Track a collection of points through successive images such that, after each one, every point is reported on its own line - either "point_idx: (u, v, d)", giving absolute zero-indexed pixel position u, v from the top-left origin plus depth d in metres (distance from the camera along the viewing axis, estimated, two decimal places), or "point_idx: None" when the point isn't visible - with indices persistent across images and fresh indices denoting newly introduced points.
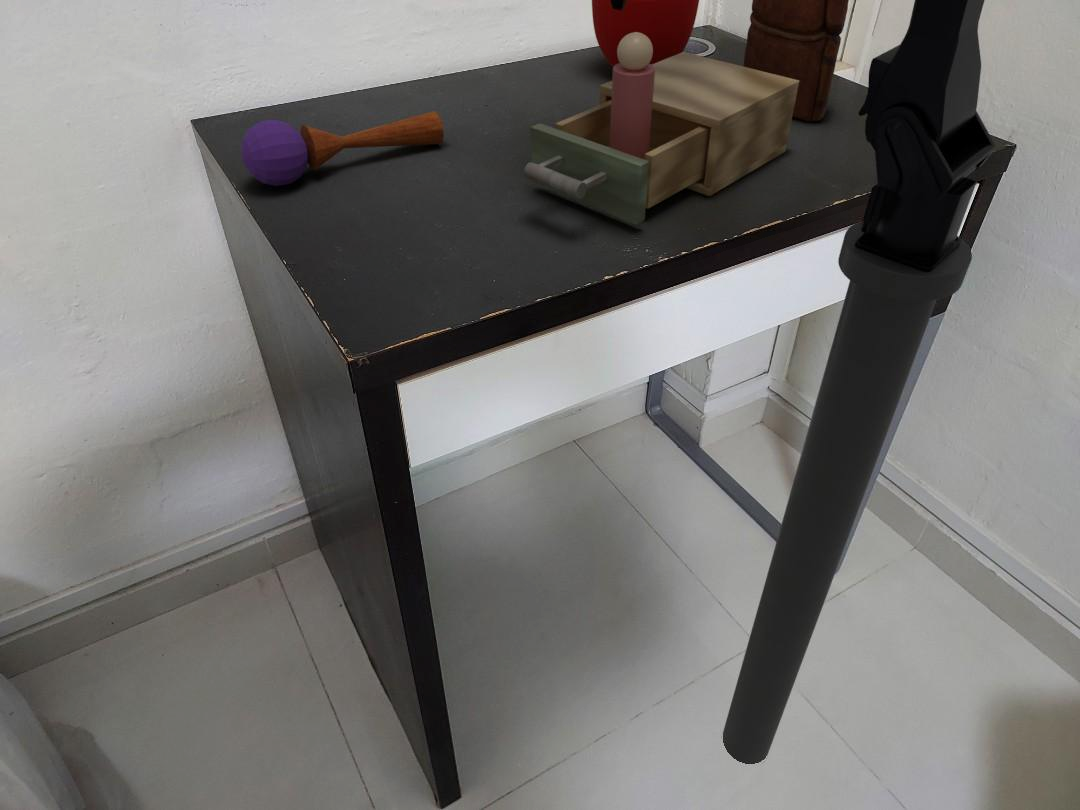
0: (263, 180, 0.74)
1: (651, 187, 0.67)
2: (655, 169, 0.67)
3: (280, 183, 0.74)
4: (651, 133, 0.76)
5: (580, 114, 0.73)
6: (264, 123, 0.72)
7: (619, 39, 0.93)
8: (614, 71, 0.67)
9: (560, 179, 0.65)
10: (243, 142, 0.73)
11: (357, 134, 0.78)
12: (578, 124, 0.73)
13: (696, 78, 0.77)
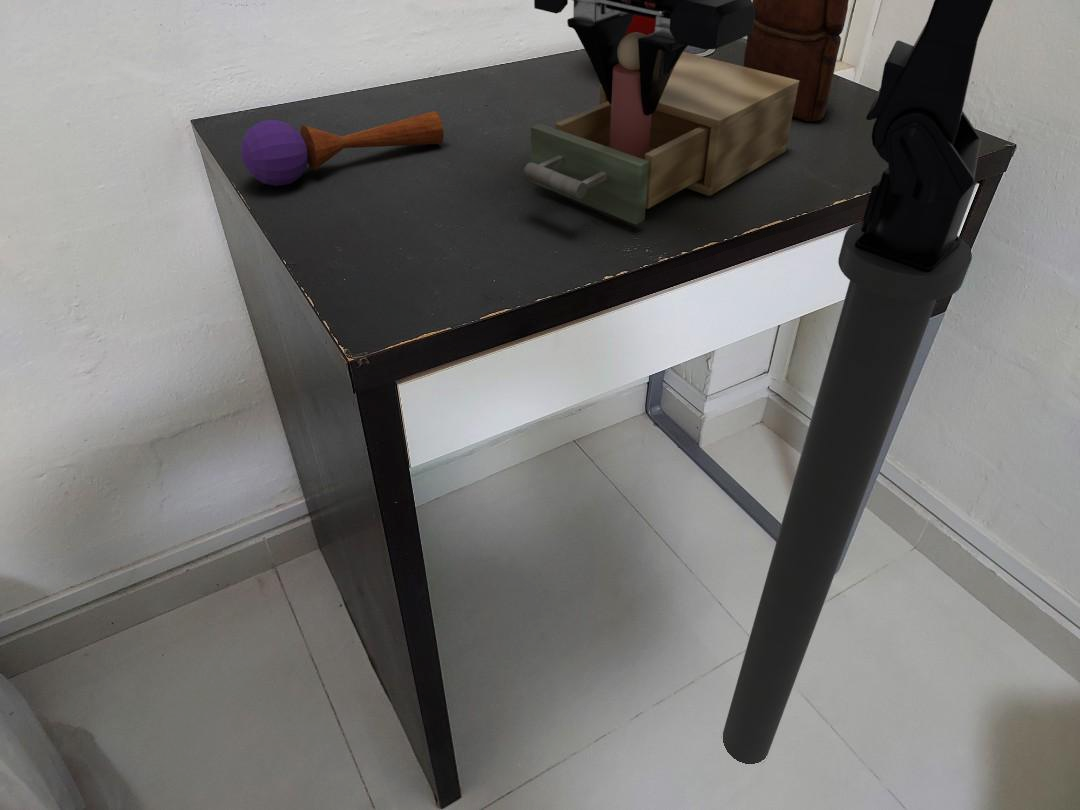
0: (263, 180, 0.74)
1: (651, 187, 0.67)
2: (655, 169, 0.67)
3: (280, 183, 0.74)
4: (651, 133, 0.76)
5: (580, 114, 0.73)
6: (264, 123, 0.72)
7: None
8: (614, 71, 0.67)
9: (560, 179, 0.65)
10: (243, 142, 0.73)
11: (357, 134, 0.78)
12: (578, 124, 0.73)
13: (696, 78, 0.77)
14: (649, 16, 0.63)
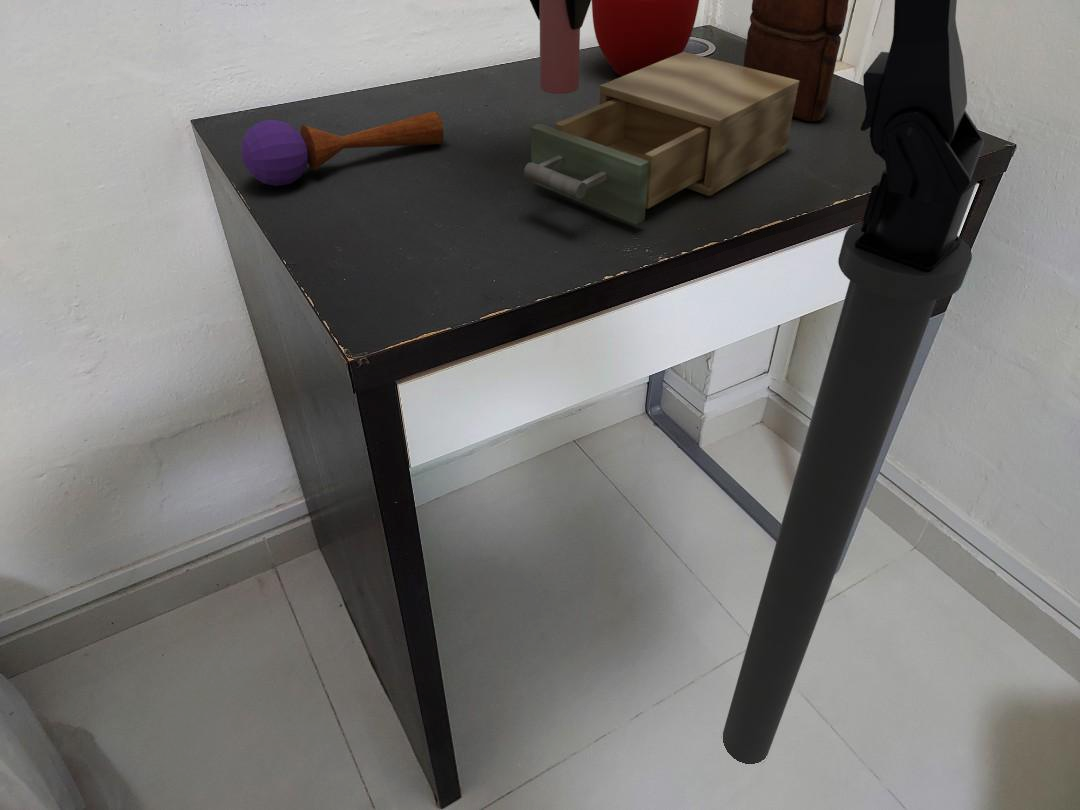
0: (263, 180, 0.74)
1: (651, 187, 0.67)
2: (655, 169, 0.67)
3: (280, 183, 0.74)
4: (651, 133, 0.76)
5: (580, 114, 0.73)
6: (264, 123, 0.72)
7: (619, 39, 0.93)
8: None
9: (560, 179, 0.65)
10: (243, 142, 0.73)
11: (357, 134, 0.78)
12: (578, 124, 0.73)
13: (696, 78, 0.77)
14: None
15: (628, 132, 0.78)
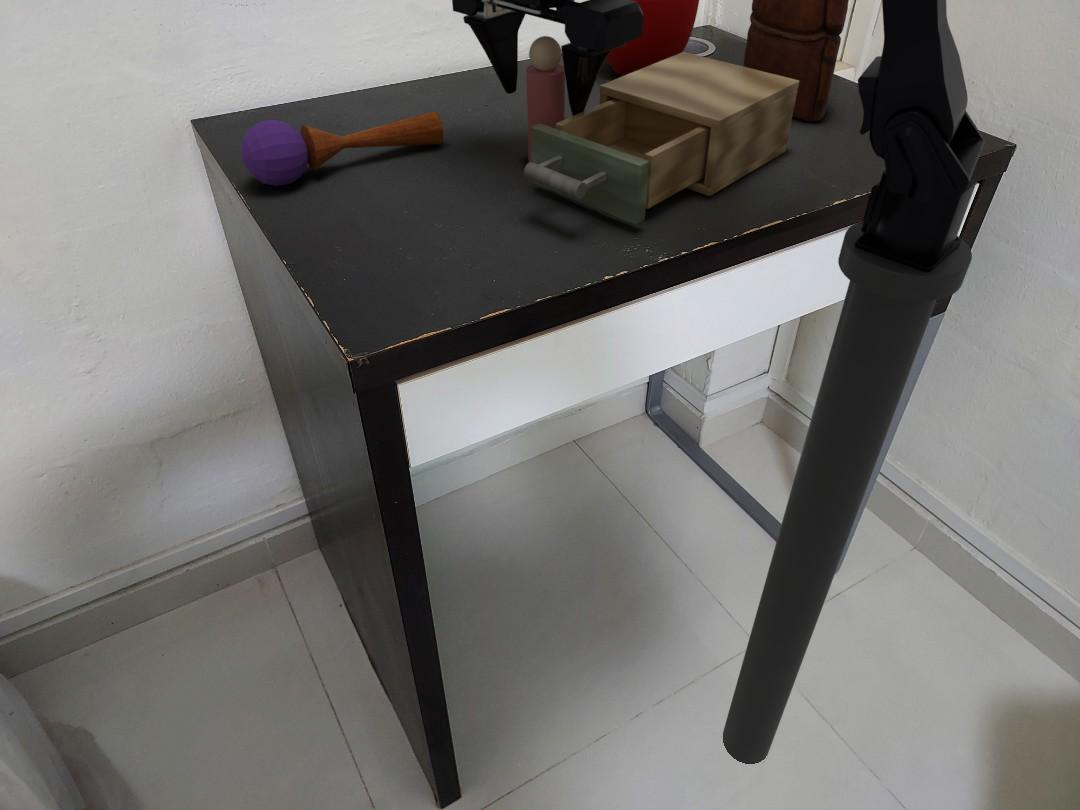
0: (263, 180, 0.74)
1: (651, 187, 0.67)
2: (655, 169, 0.67)
3: (280, 183, 0.74)
4: (651, 133, 0.76)
5: (580, 114, 0.73)
6: (264, 123, 0.72)
7: None
8: (527, 72, 0.73)
9: (560, 179, 0.65)
10: (243, 142, 0.73)
11: (357, 134, 0.78)
12: (578, 124, 0.73)
13: (696, 78, 0.77)
14: (552, 19, 0.70)
15: (628, 132, 0.78)
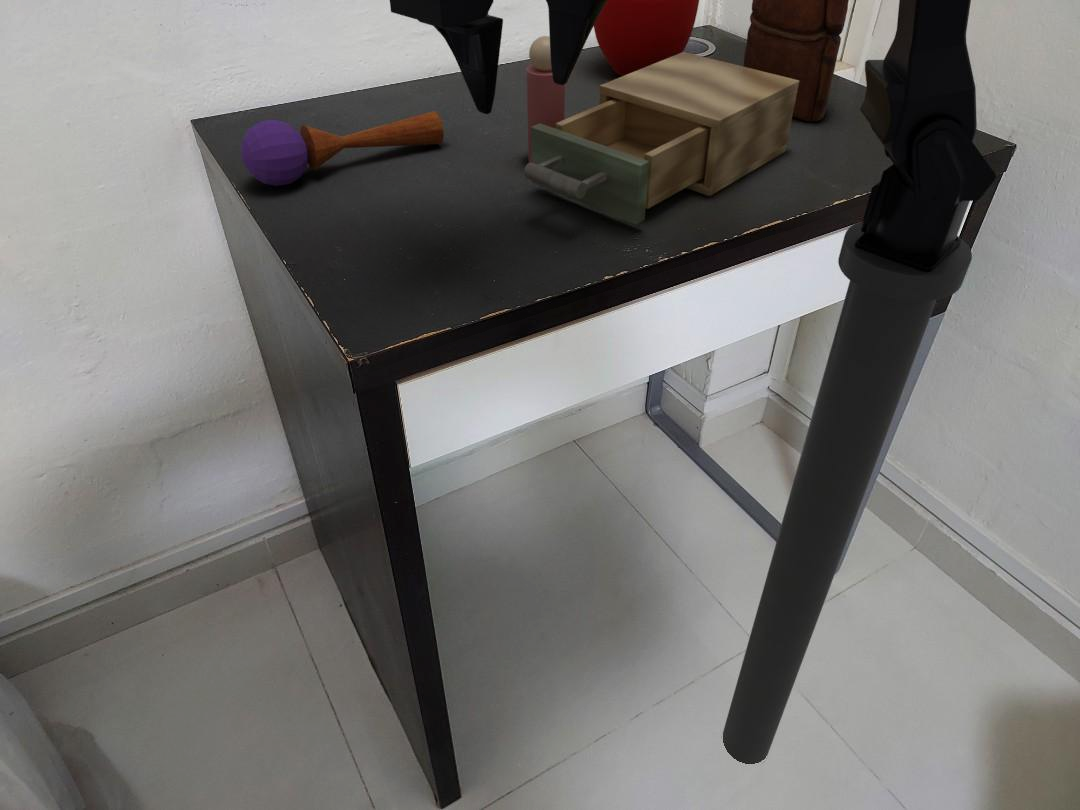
0: (263, 180, 0.74)
1: (651, 187, 0.67)
2: (655, 169, 0.67)
3: (280, 183, 0.74)
4: (651, 133, 0.76)
5: (580, 114, 0.73)
6: (264, 123, 0.72)
7: (619, 39, 0.93)
8: (527, 72, 0.73)
9: (560, 179, 0.65)
10: (243, 142, 0.73)
11: (357, 134, 0.78)
12: (578, 124, 0.73)
13: (696, 78, 0.77)
14: None
15: (628, 132, 0.78)
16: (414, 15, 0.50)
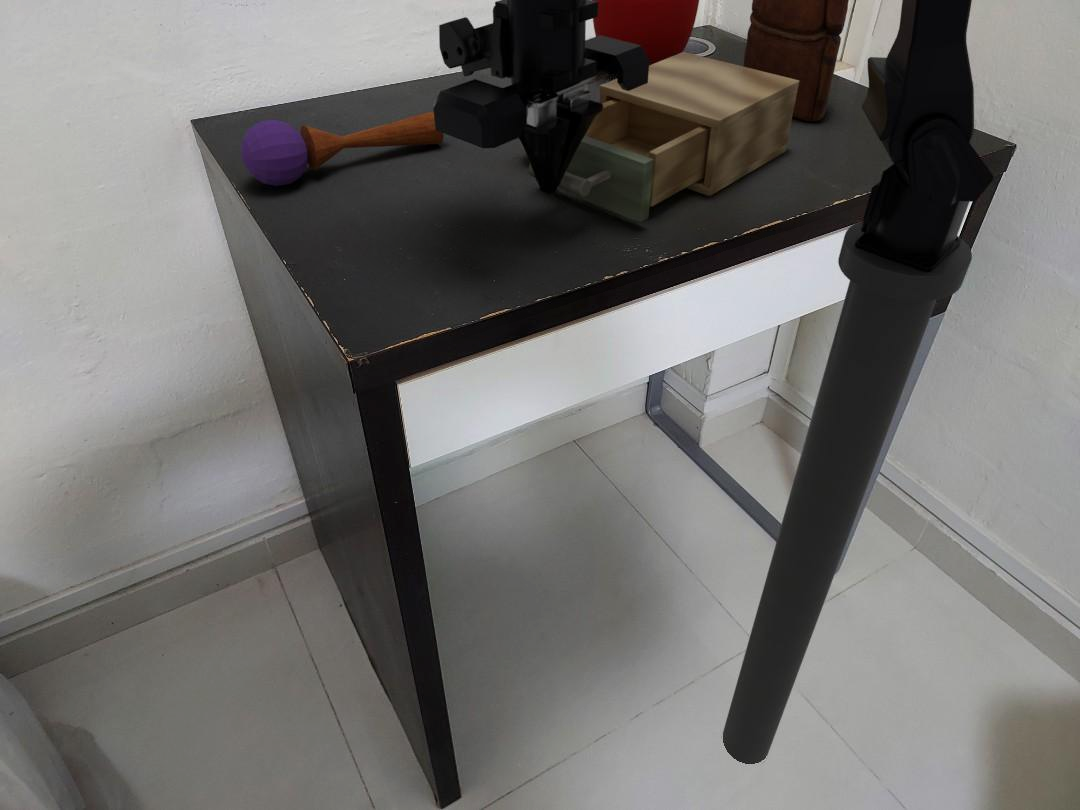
0: (263, 180, 0.74)
1: (655, 185, 0.68)
2: (659, 167, 0.67)
3: (280, 183, 0.74)
4: (655, 132, 0.76)
5: None
6: (264, 123, 0.72)
7: (619, 39, 0.93)
8: None
9: (564, 177, 0.65)
10: (243, 142, 0.73)
11: (357, 134, 0.78)
12: None
13: (696, 78, 0.77)
14: None
15: (631, 130, 0.78)
16: (457, 135, 0.56)
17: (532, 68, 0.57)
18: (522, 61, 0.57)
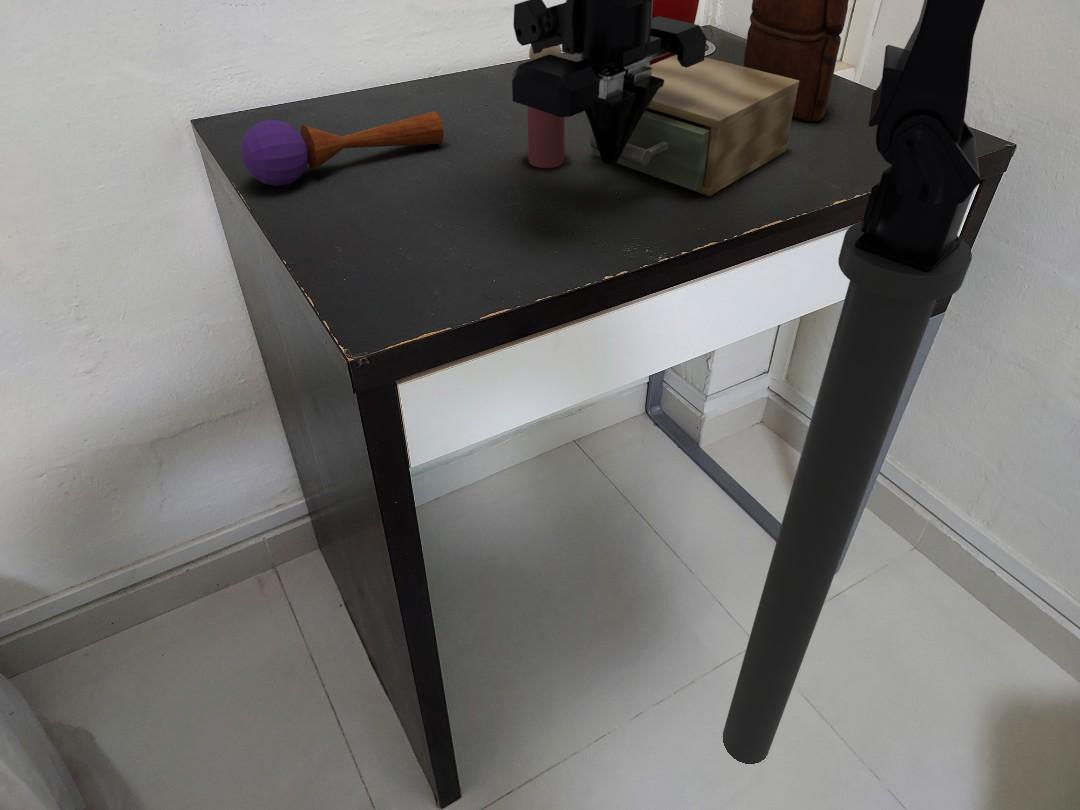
0: (263, 180, 0.74)
1: None
2: None
3: (280, 183, 0.74)
4: None
5: None
6: (264, 123, 0.72)
7: None
8: None
9: (625, 148, 0.70)
10: (243, 142, 0.73)
11: (357, 134, 0.78)
12: None
13: (696, 78, 0.77)
14: None
15: None
16: (534, 106, 0.61)
17: (603, 44, 0.62)
18: (593, 37, 0.62)
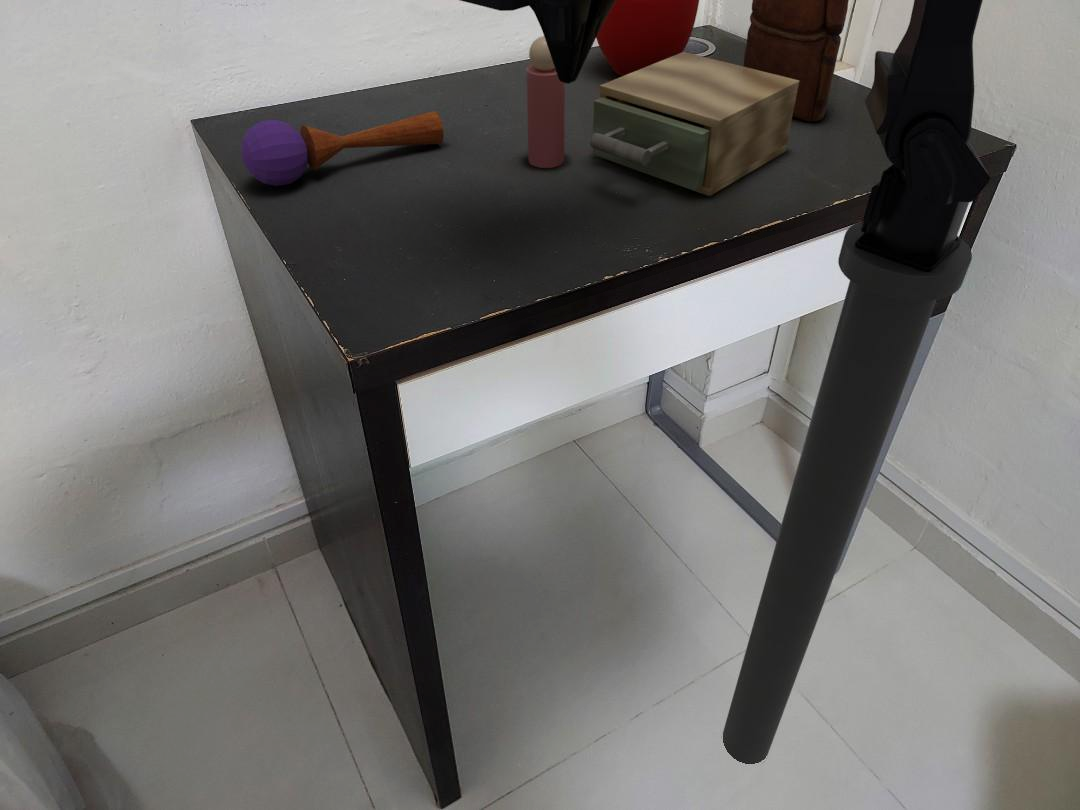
0: (263, 180, 0.74)
1: None
2: None
3: (280, 183, 0.74)
4: None
5: None
6: (264, 123, 0.72)
7: (619, 39, 0.93)
8: (527, 72, 0.73)
9: (625, 148, 0.70)
10: (243, 142, 0.73)
11: (357, 134, 0.78)
12: None
13: (696, 78, 0.77)
14: None
15: None
16: (472, 0, 0.52)
17: None
18: None
